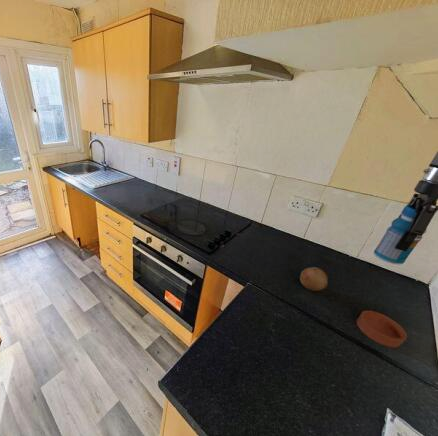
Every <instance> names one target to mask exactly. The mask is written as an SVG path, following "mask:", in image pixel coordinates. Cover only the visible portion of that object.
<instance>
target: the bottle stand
mask: <svg viewBox="0 0 438 436" xmlns="http://www.w3.org/2000/svg"><path fill="white" fill-rule="evenodd" d="M356 325H357V328H359V330H360V331H361V332H362V333H363V335H365V336H366V337H368V338H370V339H371V340H372V341H374V342H376V343H378V344H380V345H382V346H385V347H389V348H399V347H401V345H403V344H404V343H405V341H406V340H407V339H408V334H407V331H406V330H405V329H404V328H403V327H402V326H401V325H400V323H398V322H397V321H396V320H394V319H392V318H391V317H388V316H387V315H385V314H383V313H380V312H377V311H373V310H363V311H362V312H361V313H360V314H359V316H358V317H357V319H356Z"/></svg>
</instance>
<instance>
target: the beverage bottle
mask: <svg viewBox="0 0 438 436" xmlns="http://www.w3.org/2000/svg"><path fill="white" fill-rule="evenodd" d="M414 207H415V206H414ZM414 207H411V205H408V204H407V205H405V206H404V207H403V209H402V211H401V212H400V214H401V215H402V216H401V217H399V216H398V217H396V218H394V219H393V220H392V221H391V224H390V226H388V227H387V228H386V230H385V233H384V234H383V235H382V237H381V239H380V241H379V243H378V244H377V246H376V247H375V248H374V250H373V255H374V256H375V257H376V258H378V259H379V260H381V261H383V262H385V263H389V264H392V265H403V264H404V263H405V262H406V261H407V259H408V258H409V256H410V255H411V253H412V252H413V251H414V249H415V248H416V246H417V245H418V244H419V243H420V241H422V239H423V235H424V234H426V233H427V229H428V227H427V228H426V230H425V232H424V233H423V235H422V236H420V235H417V237H416V238H415V240H414V241H413V242H412V244H411V245H410V247H409V248H408V250H407V251H402V250H399V249H395V246H396V245H397V243H398V242H399V240H400V239H401V237H402V236H403V234H404V233H405V232H404V230H407V231H408V229H409V227H410V224H411V222H412V220H413V218H414V216H415V215H416V212H415V208H414ZM416 231H417V230H416Z"/></svg>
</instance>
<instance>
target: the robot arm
mask: <svg viewBox="0 0 438 436" xmlns="http://www.w3.org/2000/svg"><path fill="white" fill-rule="evenodd" d="M422 172H423V174H422V176H421V179H419V180H418V182H417V184H416V185H415V187H414V189H413V191H414V192H415V193H413V195H412V197H411V199H410V200H409V202H408V203H407V205H411V207H414V206H415V207H414V208H415V212H416V215H415V216H414V218H413V220H412V222H411V224H410V227H409V229H408V231H407V230H404V232H405V233H404V234H403V236H402V237H401V239H400V240H399V242H398V243H397V245H396V246H395V249H399V250H402V251H407V250H408V248H409V247H410V245H411V244H412V242H413V241H414V240H415V238H416V237H417V235H420V236H422V237H423V235H424V234H425V233H426V232H425V230H426V231H427V229H428V226H429V224H430V223H431V221H432V220H433V218H434V216H435V214H436V213H437V212H438V205H437V204H438V203H437V202H438V150H437V152H436V153H435V155H434V157H433V158H432V160H431V162H430V163H429V164H428V166H427V168H424V169H423V171H422ZM401 216H402V215H401V213H400V214H399V215H398V217H401ZM426 228H427V229H426ZM416 230H417V231H416ZM424 232H425V233H424ZM423 233H424V234H423Z"/></svg>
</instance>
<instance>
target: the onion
mask: <svg viewBox="0 0 438 436" xmlns="http://www.w3.org/2000/svg"><path fill="white" fill-rule="evenodd" d="M299 275H300V276H299V281H300V283H301V284H302V286H303V287H304V288H305V289H307V290H309V291H311V292H319V291H322V290H324V289H325V288H327V286H328V284H329V283H328V282H329V278H328V275H327V273H326V272H325V271H324V270H323V269H321V268H319V267H314V266H312V267H311V266H310V267H306V268H305V269H303V270H302V271H301V273H300V274H299Z"/></svg>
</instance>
